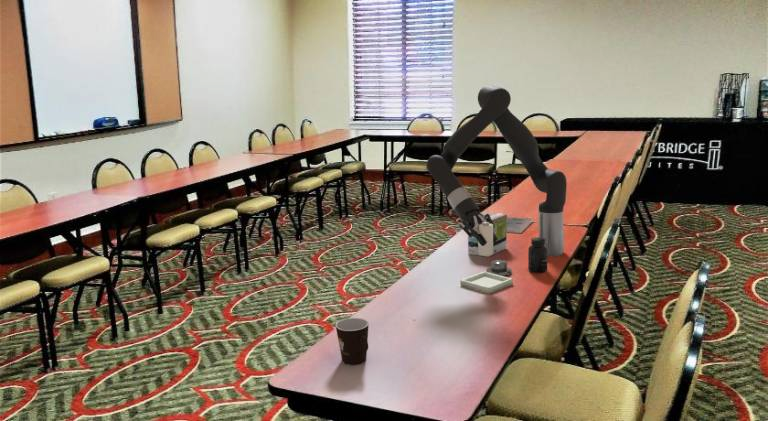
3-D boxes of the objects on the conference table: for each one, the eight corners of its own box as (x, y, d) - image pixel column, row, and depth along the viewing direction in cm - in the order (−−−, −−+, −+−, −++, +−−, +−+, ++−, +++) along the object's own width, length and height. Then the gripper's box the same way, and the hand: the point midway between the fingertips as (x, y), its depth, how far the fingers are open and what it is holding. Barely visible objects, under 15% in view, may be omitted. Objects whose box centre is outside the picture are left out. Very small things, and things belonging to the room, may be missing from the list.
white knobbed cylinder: (484, 250, 224) (484, 220, 222) (496, 253, 221) (496, 222, 218) (475, 253, 221) (475, 222, 219) (486, 256, 218) (486, 225, 215)
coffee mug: (337, 354, 175) (335, 319, 173) (369, 351, 176) (367, 316, 174) (338, 373, 164) (335, 336, 162) (372, 371, 164) (370, 334, 162)
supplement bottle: (547, 274, 232) (548, 241, 229) (528, 273, 233) (528, 241, 231) (547, 268, 238) (547, 236, 236) (528, 267, 240) (528, 236, 237)
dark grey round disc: (497, 267, 242) (496, 257, 241) (516, 272, 235) (516, 261, 234) (481, 273, 236) (481, 262, 235) (501, 278, 229) (500, 267, 228)
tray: (484, 276, 232) (484, 271, 232) (512, 284, 223) (512, 278, 222) (460, 285, 224) (460, 280, 224) (489, 293, 215) (488, 288, 214)
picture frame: (498, 220, 314) (485, 231, 295) (498, 215, 314) (485, 226, 295) (532, 223, 307) (520, 234, 288) (532, 217, 306) (521, 228, 288)
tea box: (489, 257, 254) (489, 221, 251) (467, 254, 260) (466, 218, 257) (507, 248, 266) (507, 213, 263) (485, 245, 272) (485, 210, 269)
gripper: (454, 200, 218) (482, 241, 212) (482, 193, 227) (509, 232, 221) (443, 213, 223) (470, 253, 217) (470, 206, 232) (497, 244, 226)
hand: (490, 242), depth 219 cm, fingers closed on white knobbed cylinder, 5 cm apart
